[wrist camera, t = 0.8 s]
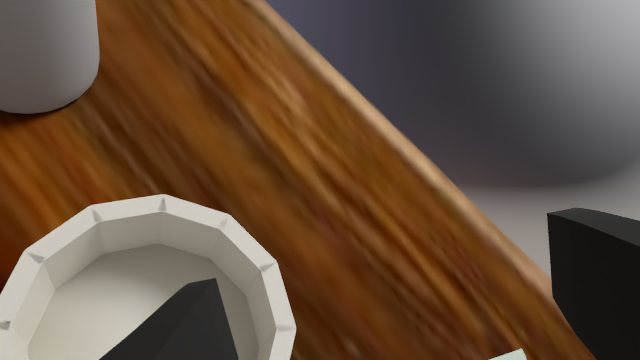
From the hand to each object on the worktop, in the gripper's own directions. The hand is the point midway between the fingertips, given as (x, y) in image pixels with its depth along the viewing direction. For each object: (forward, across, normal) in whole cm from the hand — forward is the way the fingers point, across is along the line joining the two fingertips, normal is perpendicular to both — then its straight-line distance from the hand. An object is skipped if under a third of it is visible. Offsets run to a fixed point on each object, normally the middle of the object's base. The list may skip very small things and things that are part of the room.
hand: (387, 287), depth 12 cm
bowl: (+11, +10, +7) cm, 17 cm away
